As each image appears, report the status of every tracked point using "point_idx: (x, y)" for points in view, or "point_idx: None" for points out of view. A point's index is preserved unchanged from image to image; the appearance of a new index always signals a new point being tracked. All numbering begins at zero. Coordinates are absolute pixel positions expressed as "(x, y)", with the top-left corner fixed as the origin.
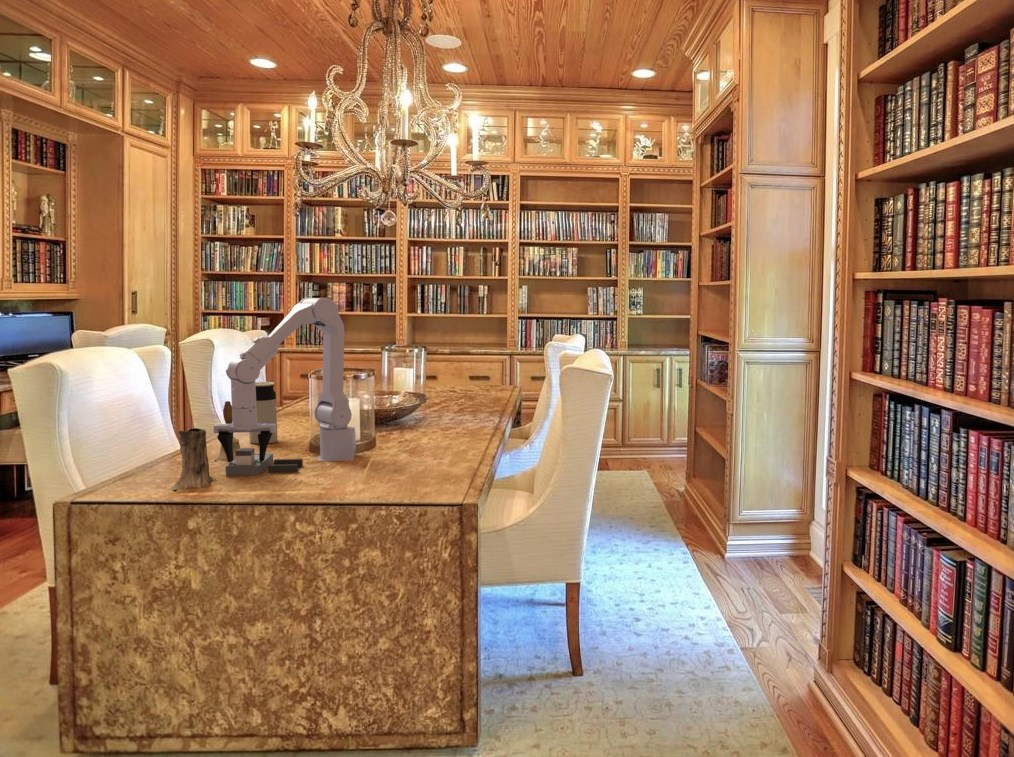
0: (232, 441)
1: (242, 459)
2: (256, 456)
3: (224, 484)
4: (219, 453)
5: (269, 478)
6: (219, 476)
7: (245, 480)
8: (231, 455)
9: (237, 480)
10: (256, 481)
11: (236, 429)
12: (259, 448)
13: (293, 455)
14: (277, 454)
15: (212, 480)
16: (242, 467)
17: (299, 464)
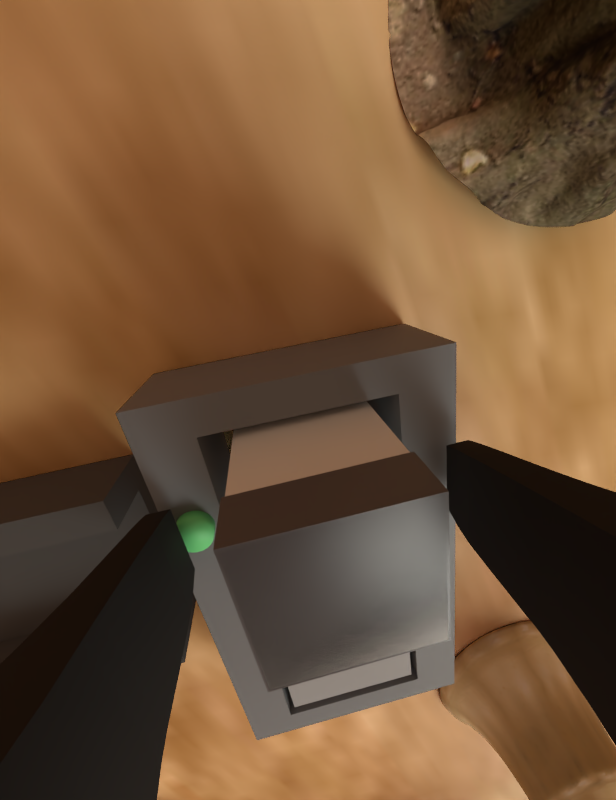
0: (612, 734)
1: (322, 447)
2: None
3: (342, 112)
4: None
5: (59, 369)
6: (467, 371)
7: (225, 281)
8: (482, 512)
9: (291, 273)
10: (107, 256)
11: None
12: (78, 648)
13: (247, 780)
14: (330, 769)
15: (470, 120)
16: (290, 370)
17: (2, 655)
